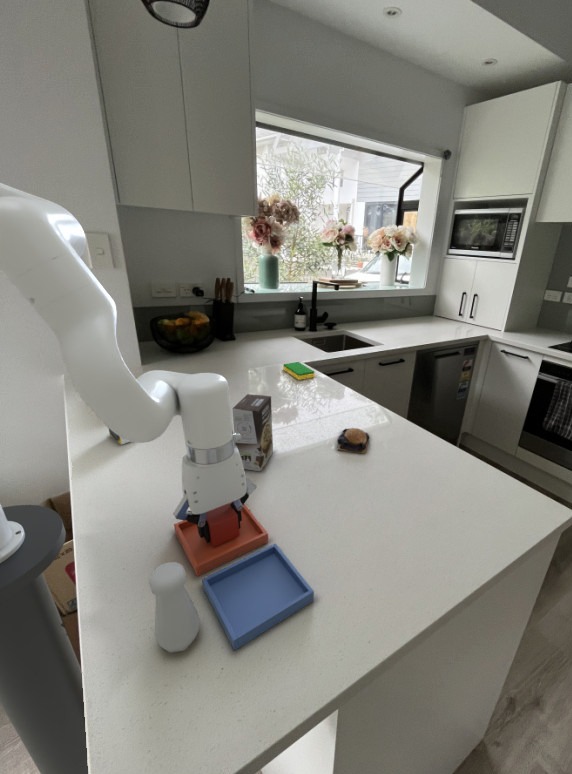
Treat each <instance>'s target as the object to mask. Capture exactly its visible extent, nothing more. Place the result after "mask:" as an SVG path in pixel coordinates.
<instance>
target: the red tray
mask: <svg viewBox="0 0 572 774" xmlns="http://www.w3.org/2000/svg"><path fill="white" fill-rule="evenodd" d="M231 503H232V502H230V503H229V504H231ZM241 515H242V521H240V527H241V528H240V529H239V535H240V536H238V537H235V538H233V539H231V540H229V541H227V542H225V543H222V544H220V545H218V546H216V547H213V546H212V544H211V543H210V542H209V543H207V542H206V540H205V539H204V537H203V538H200V536H199V533H198V528H197V525H196V524H193V523H190V522H188V521H186V520H185V521H184V520H181V521H178V522H176V523H174V524H173V528H174V533H175V535H176V537H177V539H178V541H179V544H180V545H181V548H182V549H183V551H184V553H185V555H186V557H187V559H188V562H189V563H190V565H191V567H192V569H193V572H194V573H195V576H196V577H200V576H201V575H203V574H205V573H207V572H209V571H212V570H214V569H216V568H218V567H220V566H221V565H224V564H226V563H228V562H230V561H232V560H234V559H237V558H238V557H240V556H242V555H243V556H244V554H247V553H249V552H250V551H253V550H255V549H257V548H259V547H261V546H263V545H265V544H267V543H269V533H268V532H267V530H266V529H265V528H264V527H263V525H262V524H261V522H259V520H258V519H257V518H256V516H255V515H254V514H253V513H252V511H251V510H250V509H249V507H247V505H246V504H245V503H244V505H243V509H242V510H241Z"/></svg>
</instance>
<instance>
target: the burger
mask: <svg viewBox="0 0 572 774" xmlns="http://www.w3.org/2000/svg"><path fill="white" fill-rule="evenodd" d="M369 441H370V435H369V433H368V432H365V431H364V430H363V429H360V428H358V427H357V428H356V427H350V428H344V429H343V430H342V432H341V434H340V435H339V436H338V438H337V451H339V452H345V453H353V454H362V455H363V454H365V453H366V451H367V448H368V444H369Z"/></svg>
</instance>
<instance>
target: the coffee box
mask: <svg viewBox="0 0 572 774" xmlns="http://www.w3.org/2000/svg"><path fill="white" fill-rule="evenodd" d="M231 410H232V423H233V433H240V434H241V440H238V441H237V442H236V444H235V445H236V447H237V448H238V451H239V453H240V457H241V460H242V464H243V468H244V470H249V471H255V472H262V470H263V469H264V467H265V466H266V465H267V463H268V461H269V459H270V458H271V457H272V455H273V453H274V438H273V436H274V435H273V414H272V411H273V410H272V396H271V395H263V394H262V395H261V394H249V393H246V395H245V396H244V397H243V398H242V399H241V400H239V402H238V403H237V404H235V405H234V406H233V407H231Z"/></svg>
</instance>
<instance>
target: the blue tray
mask: <svg viewBox="0 0 572 774" xmlns="http://www.w3.org/2000/svg"><path fill="white" fill-rule="evenodd" d="M201 583H202V589H203V591H204V593H205V596H206V597H207V599H208V601H209V603H210V605H211V607H212V609H213V611H214V613H215V615H216V617H217V619H218V621H219V623H220V625H221V627H222V629H223V631H224V633H225V635H226V637H227V639H228V641H229V643H230V645H231V647H232V649H233V651H236V650H238V649H240V648H241V647H244V645H246V644H248V643H249V642H251V641H252V640H254V639H255V638H257V637H258V636H259V635H262V634H263V633H265V632H266V631H268V630H270V629H271V628H273V627H274V626H276V625H277V624H280V622H283V621H284V620H285V619H287V618H288V617H290V616H292V615H293V614H295V613H296V612H298V611H300V610H302V609H303V608H305V607H306V606H308V605H309V604H311V603H312V602H314V601H315V599H314V597H315V591H314V590H313V588H312V587H311V586H310V584H309V583H308V582H307V581H306V580H305V578H304V577H303V576H302V574H301V573H300V571H298V569H297V568H296V567H295V566H294V564H293V563H292V562H291V560H289V558H288V557H287V556H286V554H284V552H283V551H282V549H281V548H280V546H278V544H277V543H273V544H270V545H268V546H267V547H264V548H262V549H261V550H258V551H256V552H254V553H252V554H250V555H249V556H246V557H244V558H243V559H240V560H238V561H236V562H233V563H232V564H230V565H228V566H226V567H224V568H222V569H220V570H218V571H216V572H214V573H212V574H209V575H207V576H206V577H204V578H202V579H201Z"/></svg>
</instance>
